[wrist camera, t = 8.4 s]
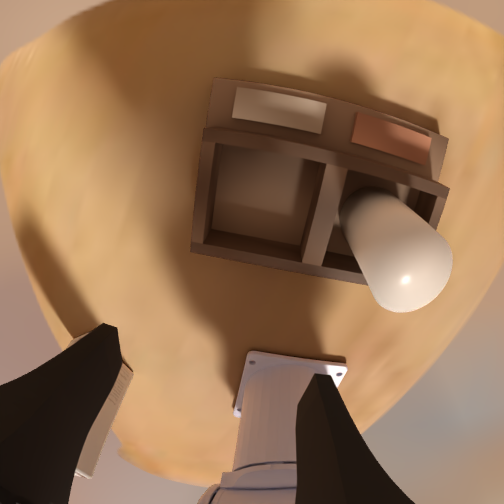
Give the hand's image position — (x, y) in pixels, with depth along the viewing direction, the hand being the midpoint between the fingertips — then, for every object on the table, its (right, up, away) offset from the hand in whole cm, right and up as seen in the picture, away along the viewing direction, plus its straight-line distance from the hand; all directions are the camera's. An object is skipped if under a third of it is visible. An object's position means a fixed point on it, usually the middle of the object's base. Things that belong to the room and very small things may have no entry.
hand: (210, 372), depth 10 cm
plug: (+8, +6, +5) cm, 11 cm away
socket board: (+5, +8, +6) cm, 11 cm away
